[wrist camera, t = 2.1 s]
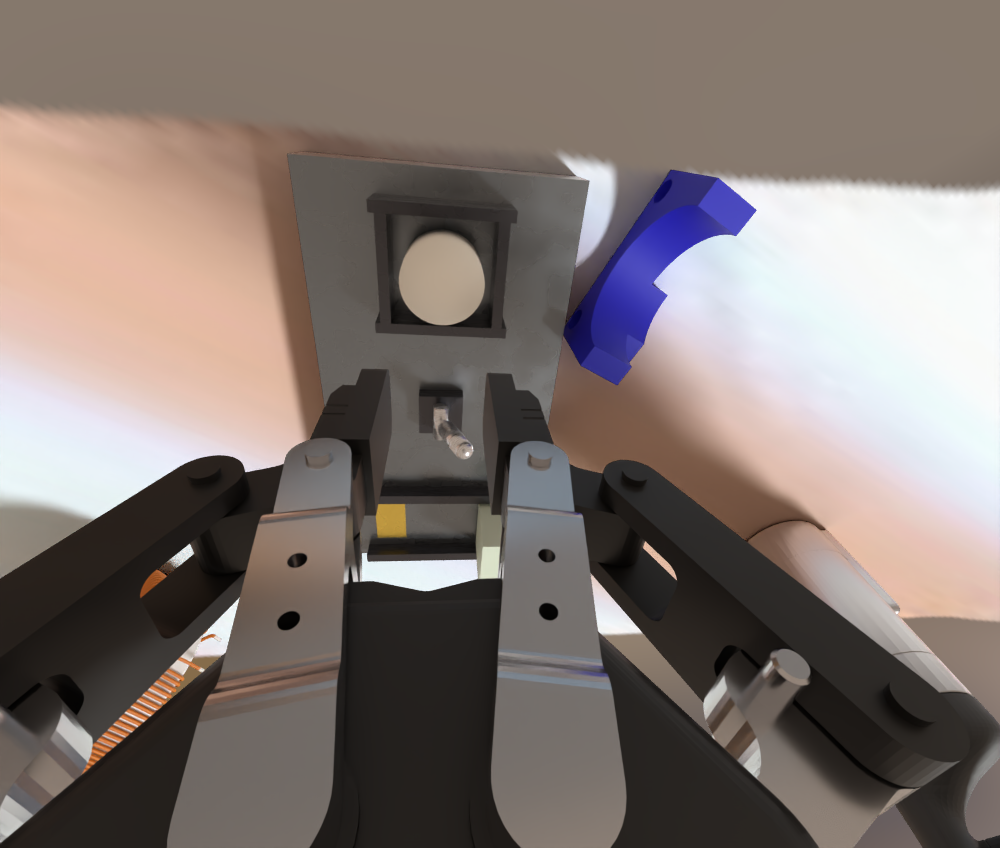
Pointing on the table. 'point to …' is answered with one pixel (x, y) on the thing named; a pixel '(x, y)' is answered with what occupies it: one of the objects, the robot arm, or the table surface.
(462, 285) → the button
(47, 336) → the table surface
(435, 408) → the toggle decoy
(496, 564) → the pale green eraser block
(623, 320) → the cable clip
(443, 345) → the panel
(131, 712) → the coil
